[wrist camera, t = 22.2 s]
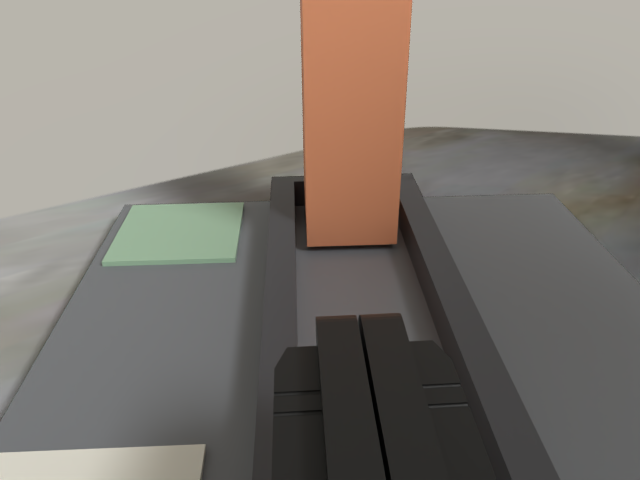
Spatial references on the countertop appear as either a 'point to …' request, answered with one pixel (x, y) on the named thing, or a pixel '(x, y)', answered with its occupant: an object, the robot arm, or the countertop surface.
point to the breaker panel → (300, 330)
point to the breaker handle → (353, 118)
